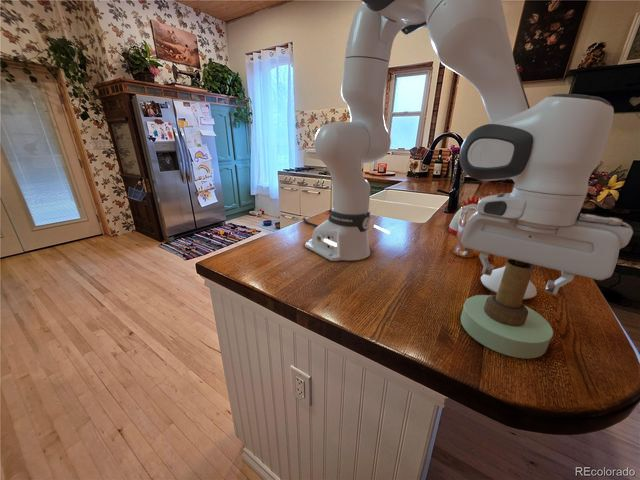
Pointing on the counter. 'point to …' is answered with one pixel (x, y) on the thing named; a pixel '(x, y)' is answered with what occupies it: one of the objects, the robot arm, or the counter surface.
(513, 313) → the mortar and pestle
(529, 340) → the disc
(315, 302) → the counter surface
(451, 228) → the kitchen timer
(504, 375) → the counter surface
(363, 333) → the counter surface
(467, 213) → the beer glass
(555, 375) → the counter surface
